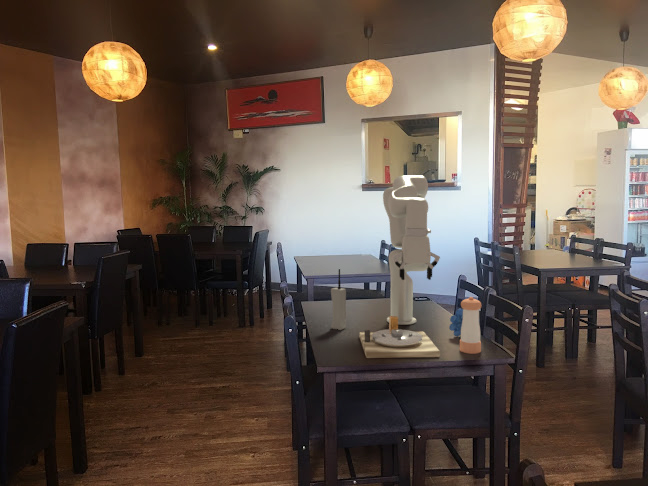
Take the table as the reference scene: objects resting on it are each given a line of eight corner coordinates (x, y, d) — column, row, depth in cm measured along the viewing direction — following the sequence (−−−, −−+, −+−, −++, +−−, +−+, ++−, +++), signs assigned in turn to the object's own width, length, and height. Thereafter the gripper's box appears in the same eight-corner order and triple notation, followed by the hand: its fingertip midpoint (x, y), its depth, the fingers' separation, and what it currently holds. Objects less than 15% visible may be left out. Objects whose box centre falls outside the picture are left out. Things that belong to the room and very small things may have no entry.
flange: (369, 333, 193) (369, 316, 192) (416, 332, 193) (416, 315, 193) (375, 347, 175) (375, 329, 174) (427, 346, 175) (427, 328, 174)
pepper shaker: (466, 354, 174) (467, 299, 172) (455, 348, 181) (456, 295, 179) (485, 352, 176) (486, 298, 174) (473, 346, 183) (474, 294, 181)
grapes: (475, 333, 200) (476, 303, 199) (481, 338, 193) (481, 307, 192) (446, 334, 200) (446, 304, 199) (450, 338, 193) (451, 308, 192)
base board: (359, 337, 196) (359, 322, 196) (423, 336, 197) (423, 321, 196) (366, 357, 171) (366, 340, 171) (439, 356, 172) (439, 339, 171)
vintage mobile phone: (336, 326, 212) (336, 267, 210) (346, 328, 209) (345, 268, 207) (331, 328, 209) (330, 268, 207) (340, 330, 206) (340, 269, 204)
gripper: (437, 231, 187) (436, 277, 189) (390, 232, 187) (390, 277, 188) (442, 233, 179) (441, 280, 181) (394, 233, 179) (393, 281, 181)
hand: (415, 279), depth 185 cm, fingers open, 9 cm apart
